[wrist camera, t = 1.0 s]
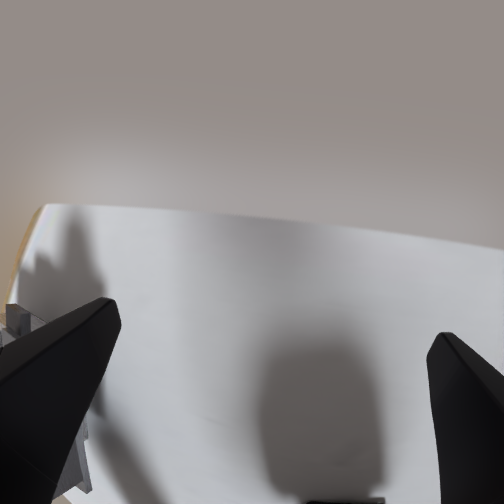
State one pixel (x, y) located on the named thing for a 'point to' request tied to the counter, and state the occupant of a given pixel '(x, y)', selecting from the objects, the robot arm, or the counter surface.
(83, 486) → the lid
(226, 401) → the counter surface
